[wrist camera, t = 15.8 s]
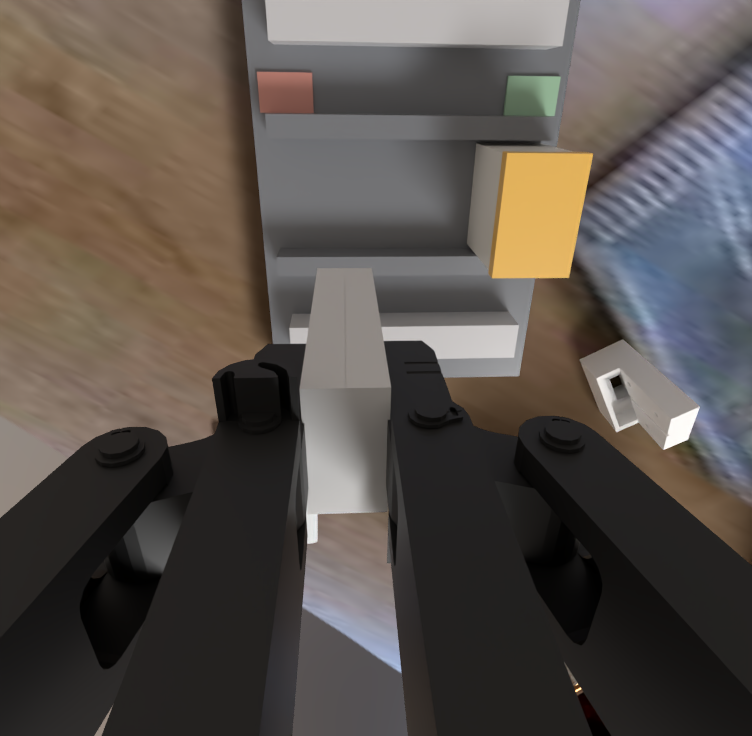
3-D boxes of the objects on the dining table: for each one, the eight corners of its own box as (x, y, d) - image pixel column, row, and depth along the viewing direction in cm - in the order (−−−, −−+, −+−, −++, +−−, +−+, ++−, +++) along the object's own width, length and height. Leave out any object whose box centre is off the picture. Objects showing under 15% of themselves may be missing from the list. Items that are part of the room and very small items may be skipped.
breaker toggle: (544, 141, 31) (593, 153, 25) (528, 244, 34) (568, 277, 28) (474, 141, 30) (507, 153, 24) (465, 245, 33) (492, 278, 27)
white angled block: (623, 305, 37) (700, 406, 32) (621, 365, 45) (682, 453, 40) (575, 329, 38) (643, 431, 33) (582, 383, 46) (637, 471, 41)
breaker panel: (569, -55, 29) (614, -84, 24) (507, 358, 41) (529, 392, 36) (244, -65, 28) (224, -98, 23) (280, 361, 40) (272, 397, 35)
